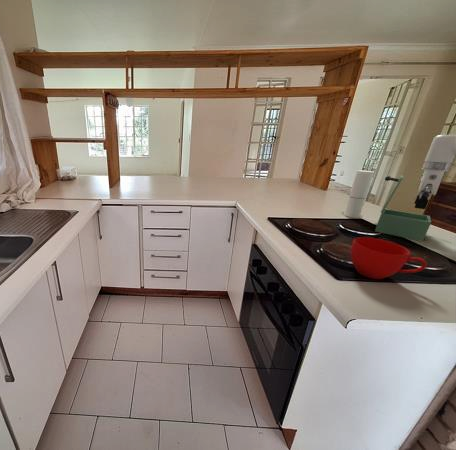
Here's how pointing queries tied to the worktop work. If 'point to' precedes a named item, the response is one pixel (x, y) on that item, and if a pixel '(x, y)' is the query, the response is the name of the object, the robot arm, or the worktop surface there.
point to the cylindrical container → (358, 193)
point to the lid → (392, 190)
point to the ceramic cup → (380, 258)
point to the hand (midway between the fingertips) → (419, 206)
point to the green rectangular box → (403, 224)
